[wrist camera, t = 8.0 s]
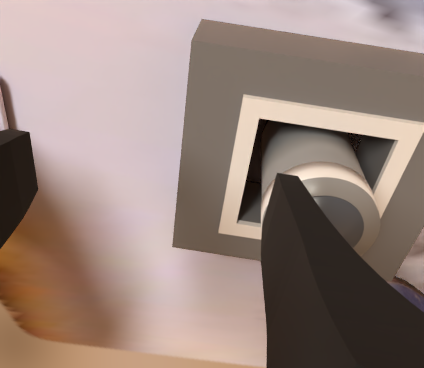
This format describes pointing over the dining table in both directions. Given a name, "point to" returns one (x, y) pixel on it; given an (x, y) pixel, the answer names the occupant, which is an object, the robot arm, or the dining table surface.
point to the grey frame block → (302, 115)
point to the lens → (322, 177)
